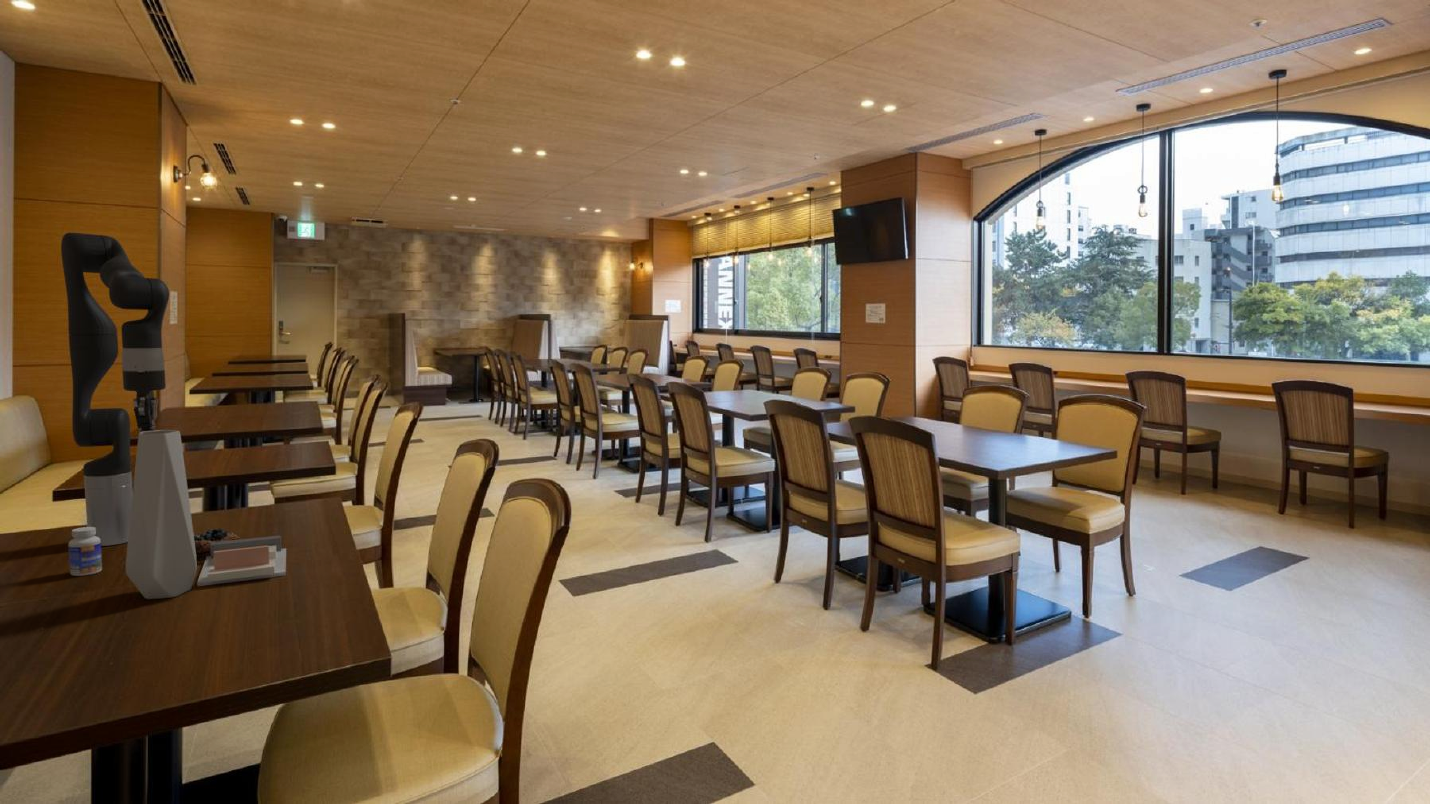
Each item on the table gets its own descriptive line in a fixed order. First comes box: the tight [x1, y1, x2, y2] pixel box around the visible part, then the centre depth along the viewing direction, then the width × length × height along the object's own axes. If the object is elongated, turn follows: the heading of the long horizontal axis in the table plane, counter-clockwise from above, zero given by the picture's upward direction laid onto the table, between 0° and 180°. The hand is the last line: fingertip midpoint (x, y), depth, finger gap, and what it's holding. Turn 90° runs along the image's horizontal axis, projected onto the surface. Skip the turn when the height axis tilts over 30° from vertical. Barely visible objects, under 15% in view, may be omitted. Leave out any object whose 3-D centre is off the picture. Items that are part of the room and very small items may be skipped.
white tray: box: [196, 535, 287, 587], centre depth 171 cm, size 20×16×4 cm
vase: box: [125, 429, 198, 600], centre depth 153 cm, size 12×12×33 cm
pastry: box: [193, 527, 242, 562], centre depth 182 cm, size 11×12×6 cm
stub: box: [207, 545, 275, 582], centre depth 163 cm, size 5×12×5 cm, turn 119°
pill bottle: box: [68, 526, 103, 577], centre depth 166 cm, size 5×5×10 cm
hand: (148, 445), depth 170 cm, fingers closed
